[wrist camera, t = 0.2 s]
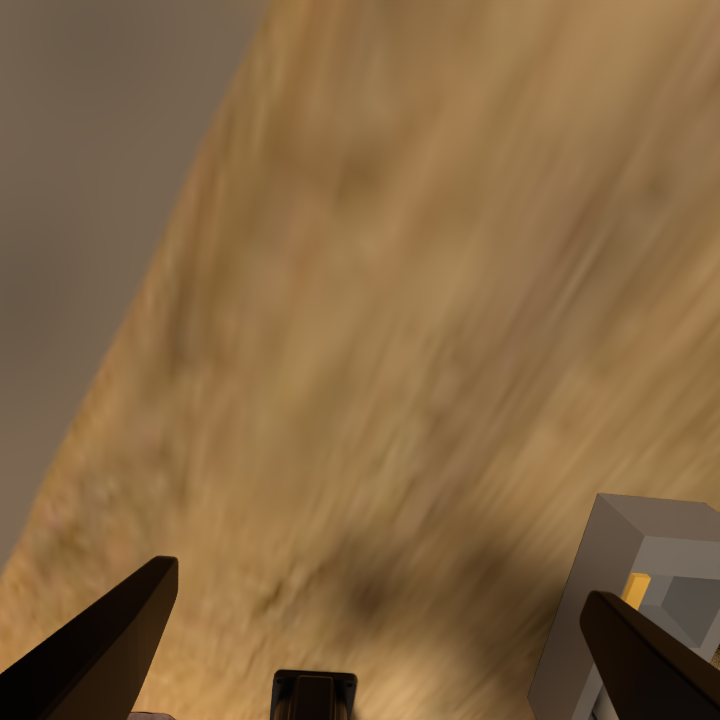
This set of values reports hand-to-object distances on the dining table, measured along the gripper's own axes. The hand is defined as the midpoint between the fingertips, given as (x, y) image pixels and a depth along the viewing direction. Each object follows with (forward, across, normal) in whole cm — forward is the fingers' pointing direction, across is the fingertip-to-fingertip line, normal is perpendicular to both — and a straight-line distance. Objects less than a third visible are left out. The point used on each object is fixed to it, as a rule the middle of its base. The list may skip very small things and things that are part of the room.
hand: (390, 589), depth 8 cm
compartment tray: (+14, -22, +16) cm, 31 cm away
